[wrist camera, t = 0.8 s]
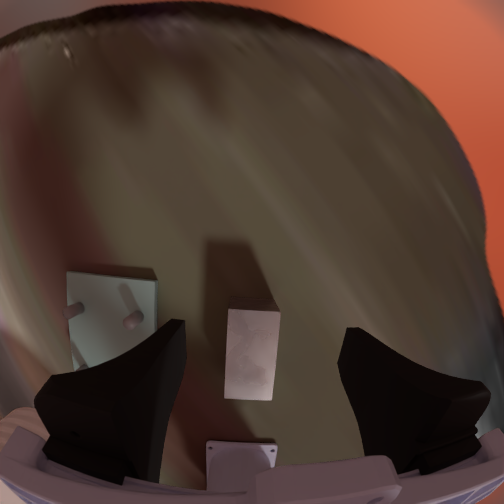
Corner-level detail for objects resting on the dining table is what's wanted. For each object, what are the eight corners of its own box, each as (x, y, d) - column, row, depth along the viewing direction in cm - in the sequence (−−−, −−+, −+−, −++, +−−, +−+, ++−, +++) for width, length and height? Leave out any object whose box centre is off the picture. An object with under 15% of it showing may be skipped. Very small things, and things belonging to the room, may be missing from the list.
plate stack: (-13, 421, 27) (-47, 448, 15) (63, 386, 27) (11, 431, 15) (84, 525, 28) (67, 560, 17) (192, 519, 28) (184, 573, 17)
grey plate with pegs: (160, 406, 27) (152, 423, 24) (81, 388, 27) (68, 402, 23) (157, 280, 26) (146, 285, 23) (71, 270, 26) (53, 274, 23)
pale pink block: (266, 375, 27) (271, 400, 22) (226, 373, 27) (224, 398, 22) (273, 298, 27) (280, 311, 22) (230, 296, 27) (228, 308, 22)
